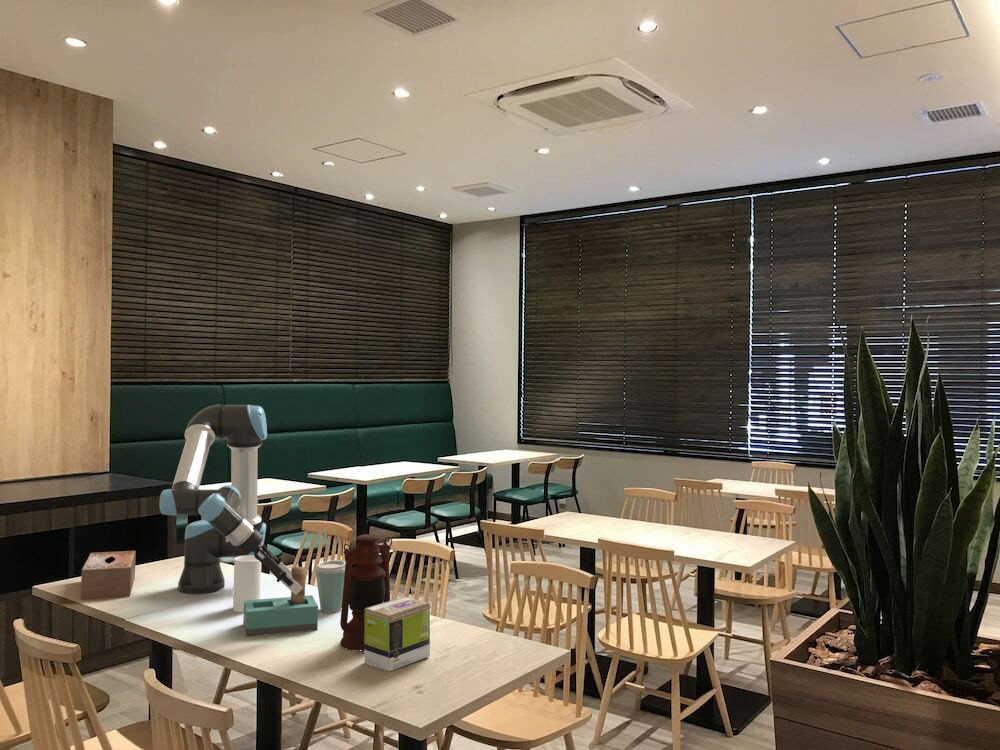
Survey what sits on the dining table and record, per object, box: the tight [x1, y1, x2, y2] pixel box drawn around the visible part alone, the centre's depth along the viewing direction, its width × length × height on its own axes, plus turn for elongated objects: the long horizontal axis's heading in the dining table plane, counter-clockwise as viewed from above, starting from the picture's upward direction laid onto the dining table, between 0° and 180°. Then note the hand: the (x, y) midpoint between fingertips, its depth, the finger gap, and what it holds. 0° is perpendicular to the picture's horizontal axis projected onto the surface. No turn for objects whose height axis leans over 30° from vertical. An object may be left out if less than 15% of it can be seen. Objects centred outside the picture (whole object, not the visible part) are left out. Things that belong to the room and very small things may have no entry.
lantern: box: [339, 533, 393, 652], centre depth 220 cm, size 17×14×30 cm
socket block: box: [242, 594, 319, 637], centre depth 232 cm, size 12×20×7 cm, turn 112°
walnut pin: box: [290, 566, 307, 605], centre depth 234 cm, size 4×4×15 cm
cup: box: [232, 555, 262, 613], centre depth 249 cm, size 8×8×16 cm
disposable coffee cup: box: [314, 559, 346, 613], centre depth 250 cm, size 11×11×15 cm
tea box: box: [363, 596, 431, 672], centre depth 207 cm, size 15×10×15 cm
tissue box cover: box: [80, 550, 137, 601], centre depth 268 cm, size 26×14×10 cm, turn 22°
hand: (296, 585), depth 233 cm, fingers open, 13 cm apart
